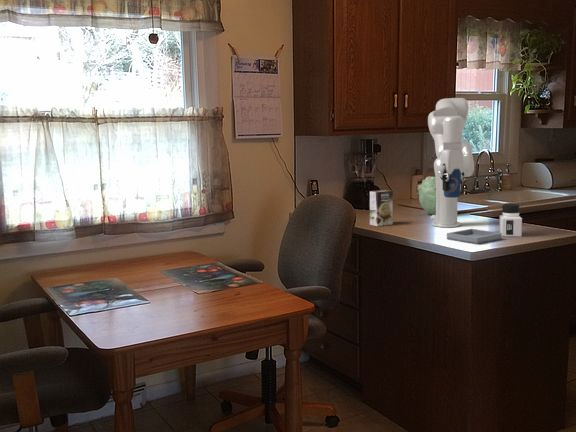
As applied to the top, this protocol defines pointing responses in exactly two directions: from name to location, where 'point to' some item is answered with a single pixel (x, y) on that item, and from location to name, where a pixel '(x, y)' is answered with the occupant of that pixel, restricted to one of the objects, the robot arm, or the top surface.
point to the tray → (474, 236)
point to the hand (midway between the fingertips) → (452, 189)
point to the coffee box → (381, 208)
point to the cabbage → (428, 195)
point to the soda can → (454, 185)
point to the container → (510, 220)
